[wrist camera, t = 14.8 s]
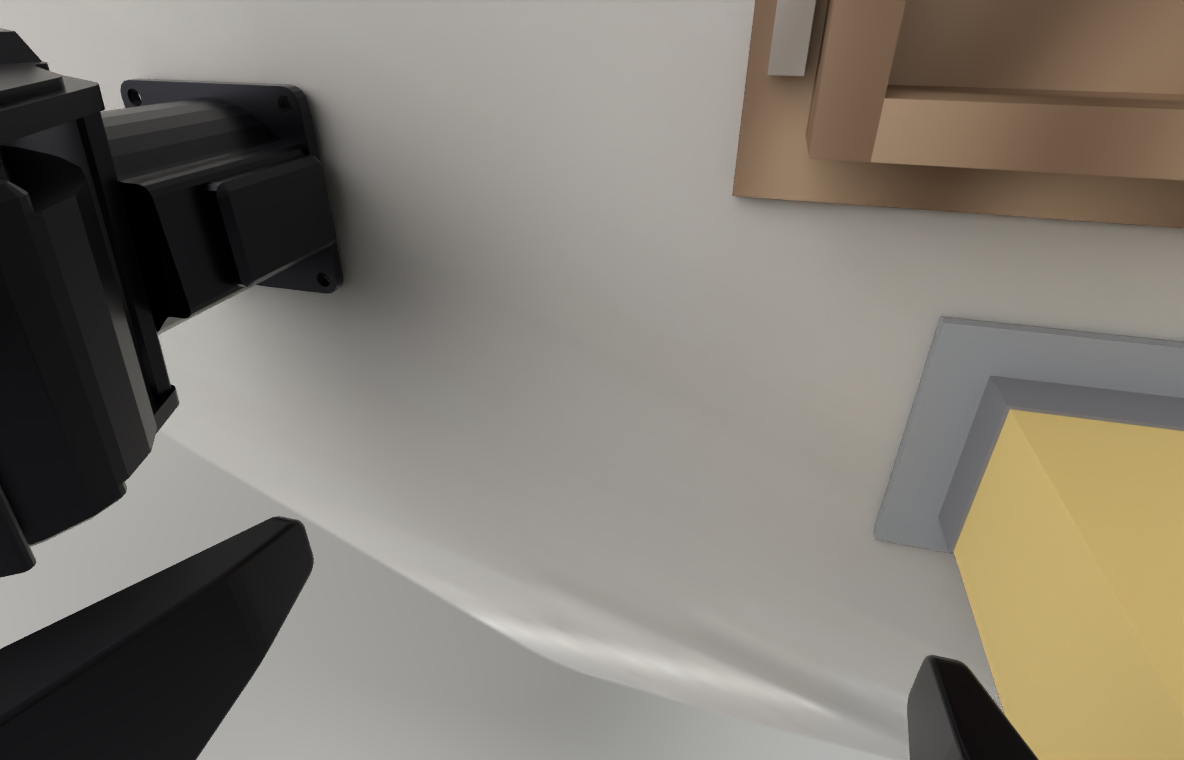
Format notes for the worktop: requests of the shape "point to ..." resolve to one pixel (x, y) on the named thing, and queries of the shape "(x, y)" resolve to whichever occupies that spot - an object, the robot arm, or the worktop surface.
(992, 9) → the socket
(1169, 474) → the plug
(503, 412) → the worktop surface
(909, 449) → the stand
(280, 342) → the worktop surface
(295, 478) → the worktop surface
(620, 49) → the worktop surface
